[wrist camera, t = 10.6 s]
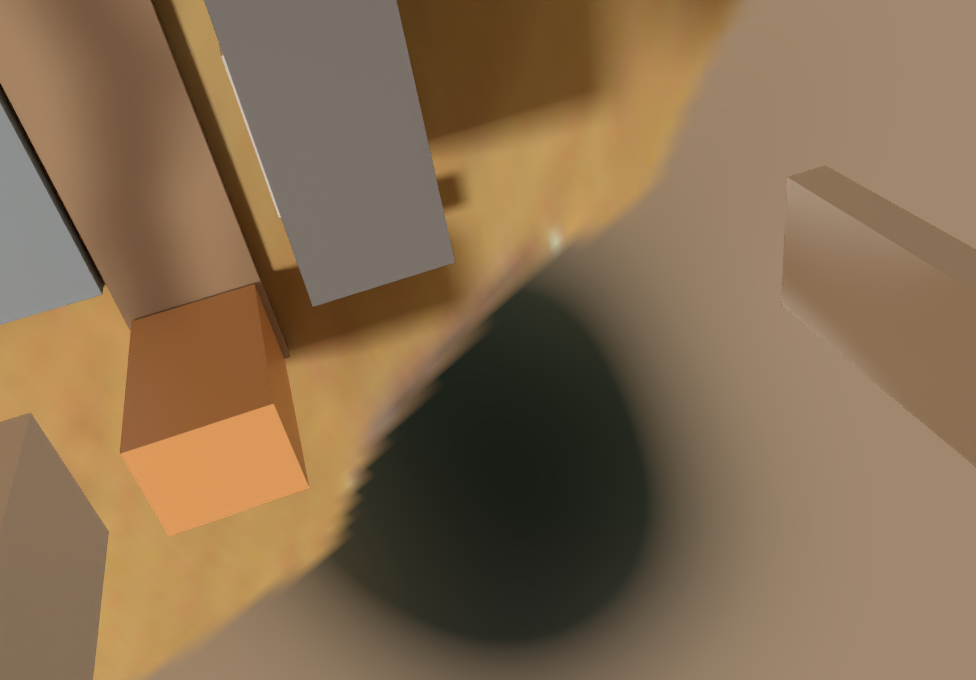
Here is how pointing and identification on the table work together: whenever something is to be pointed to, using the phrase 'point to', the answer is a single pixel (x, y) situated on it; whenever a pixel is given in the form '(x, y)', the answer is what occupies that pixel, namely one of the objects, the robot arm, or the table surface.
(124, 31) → the cradle
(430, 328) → the table surface
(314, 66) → the block
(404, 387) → the table surface
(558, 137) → the table surface
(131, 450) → the orange rectangular block
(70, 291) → the mat
